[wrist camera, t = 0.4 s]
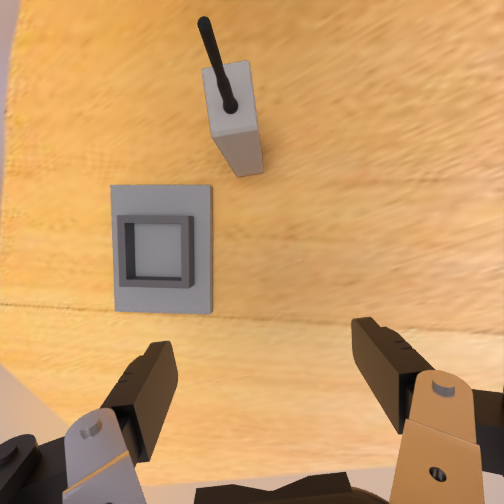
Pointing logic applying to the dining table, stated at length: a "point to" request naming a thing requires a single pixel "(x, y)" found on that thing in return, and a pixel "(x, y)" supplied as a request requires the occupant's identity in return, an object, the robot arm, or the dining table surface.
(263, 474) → the dining table surface
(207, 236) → the dock board
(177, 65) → the dining table surface
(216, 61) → the vintage mobile phone
